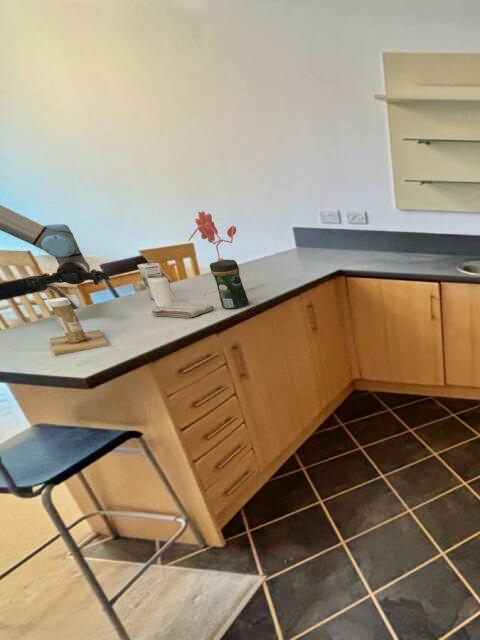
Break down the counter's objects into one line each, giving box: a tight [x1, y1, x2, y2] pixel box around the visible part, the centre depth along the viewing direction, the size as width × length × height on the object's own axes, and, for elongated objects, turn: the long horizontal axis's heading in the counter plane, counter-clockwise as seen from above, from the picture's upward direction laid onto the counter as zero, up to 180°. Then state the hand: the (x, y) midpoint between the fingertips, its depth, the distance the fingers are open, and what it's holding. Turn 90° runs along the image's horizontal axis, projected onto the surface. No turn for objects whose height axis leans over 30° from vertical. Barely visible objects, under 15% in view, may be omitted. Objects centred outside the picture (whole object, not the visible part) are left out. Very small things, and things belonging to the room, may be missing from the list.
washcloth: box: [150, 301, 215, 319], centre depth 161 cm, size 12×18×3 cm, turn 84°
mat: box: [49, 329, 109, 357], centre depth 132 cm, size 18×12×1 cm, turn 48°
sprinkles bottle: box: [47, 297, 87, 343], centre depth 129 cm, size 5×5×13 cm
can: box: [147, 274, 177, 307], centre depth 168 cm, size 6×6×12 cm
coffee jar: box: [209, 259, 250, 310], centre depth 167 cm, size 10×8×19 cm
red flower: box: [187, 210, 254, 301], centre depth 179 cm, size 15×26×35 cm, turn 2°
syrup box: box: [137, 262, 163, 300], centre depth 177 cm, size 6×6×14 cm
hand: (67, 283), depth 138 cm, fingers open, 13 cm apart
